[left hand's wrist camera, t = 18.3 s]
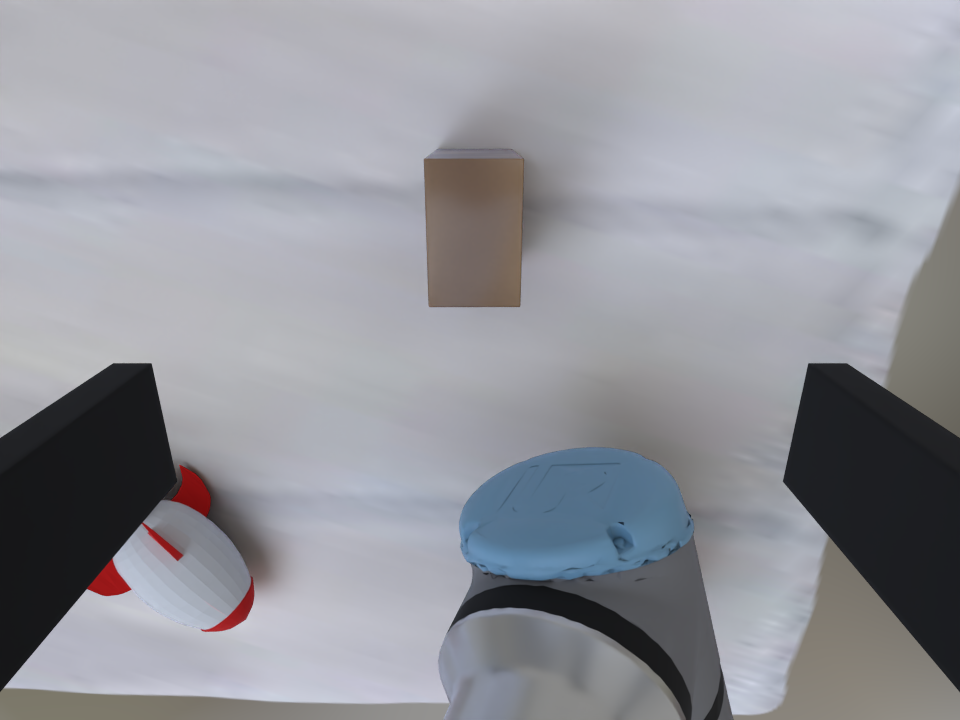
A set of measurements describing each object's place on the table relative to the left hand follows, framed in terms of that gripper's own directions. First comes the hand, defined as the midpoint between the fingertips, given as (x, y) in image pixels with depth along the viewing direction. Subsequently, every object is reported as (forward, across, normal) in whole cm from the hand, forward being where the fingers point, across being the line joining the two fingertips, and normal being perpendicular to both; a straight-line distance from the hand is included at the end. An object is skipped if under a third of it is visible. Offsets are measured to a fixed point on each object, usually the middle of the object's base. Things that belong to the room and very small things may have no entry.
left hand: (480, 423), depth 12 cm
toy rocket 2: (+32, +25, +25) cm, 48 cm away
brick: (+32, 0, 0) cm, 32 cm away
